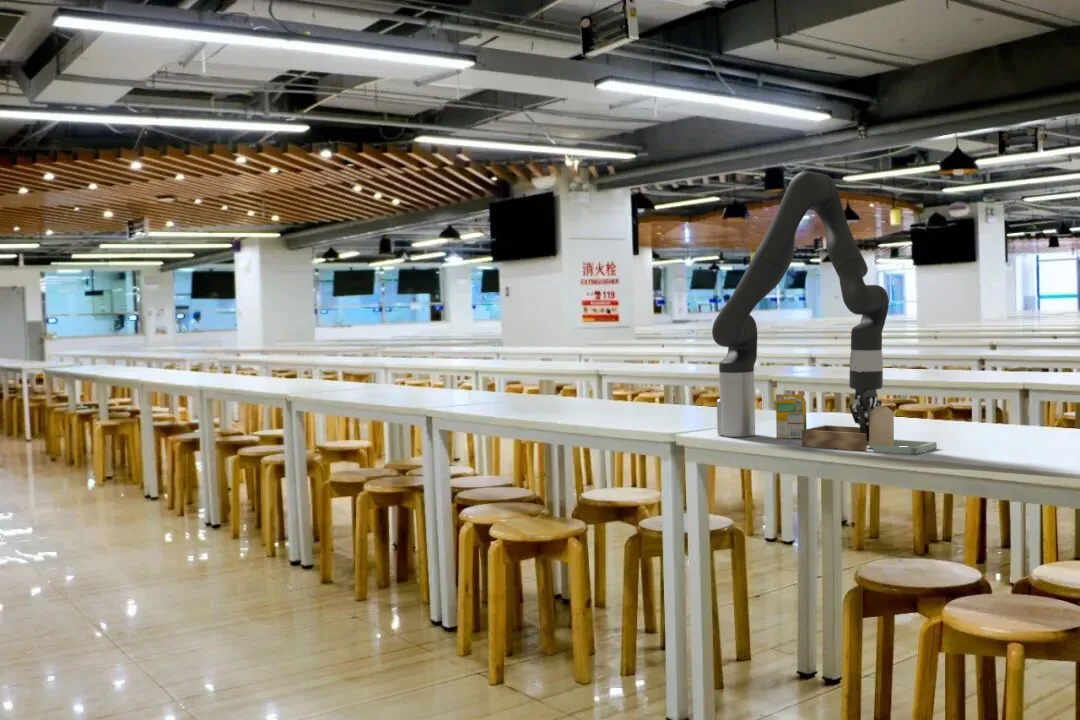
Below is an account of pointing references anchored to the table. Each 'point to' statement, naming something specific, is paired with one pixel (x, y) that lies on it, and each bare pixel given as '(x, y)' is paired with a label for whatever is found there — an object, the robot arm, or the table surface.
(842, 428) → the cubby
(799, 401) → the crayon box
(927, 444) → the mint green u-bracket
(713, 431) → the table surface
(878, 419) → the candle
